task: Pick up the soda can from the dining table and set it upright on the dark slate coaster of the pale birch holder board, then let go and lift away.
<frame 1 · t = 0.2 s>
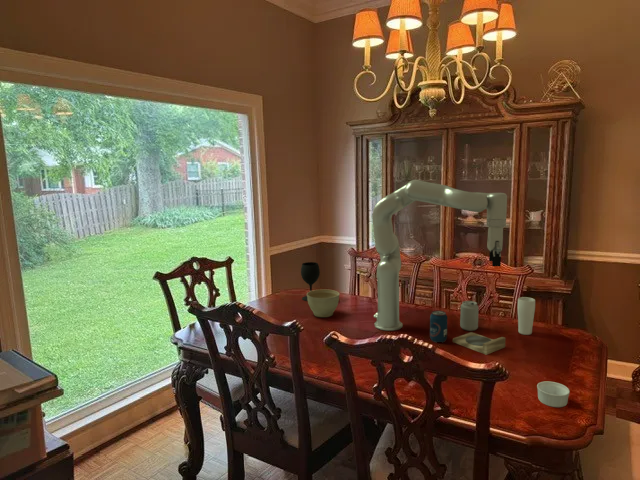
hand: (494, 263, 188), 31 cm above the table, tool pointing down, fingers open, 9 cm apart
ramekin: (552, 401, 138), on the table
wine glass: (311, 299, 252), on the table
can: (468, 328, 200), on the table
drinking glass: (524, 333, 193), on the table
planter bowl: (323, 315, 224), on the table
holder board: (478, 344, 182), on the table
soda can: (438, 340, 188), on the table
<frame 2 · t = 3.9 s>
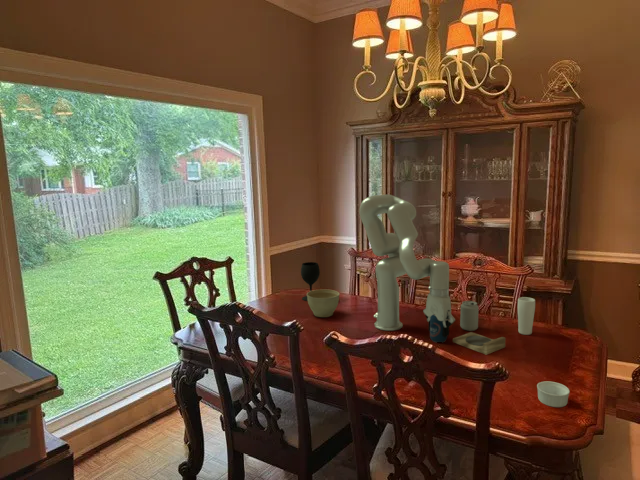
hand: (438, 332, 187), 3 cm above the table, tool pointing down, fingers closed on soda can, 7 cm apart
soda can: (438, 340, 188), on the table, touching gripper
everything else where it was.
when the fingers open (6 cm above the table, at t = 10.2 s): soda can drops 1 cm, resting on holder board.
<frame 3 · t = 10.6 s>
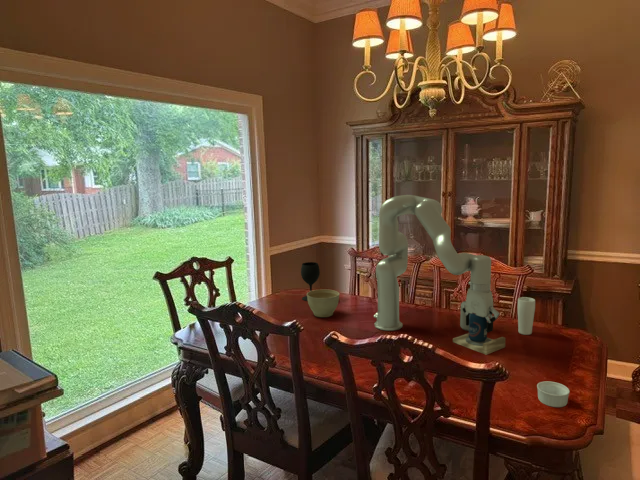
hand: (479, 328, 181), 7 cm above the table, tool pointing down, fingers open, 9 cm apart
soda can: (477, 340, 182), point 2 cm above the table, touching holder board
everything else where it was.
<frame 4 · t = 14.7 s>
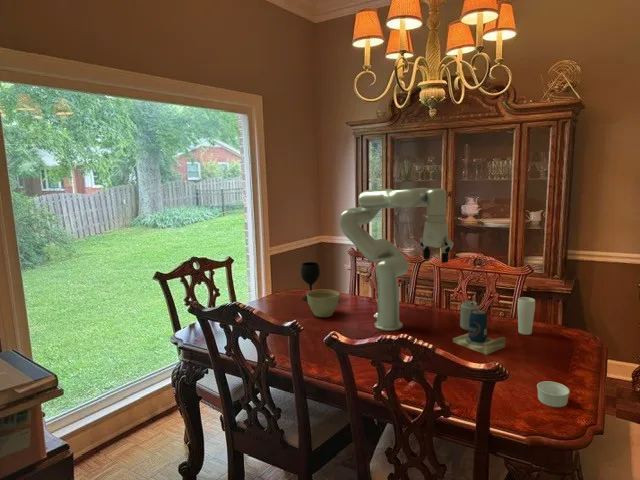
hand: (435, 260, 185), 33 cm above the table, tool pointing down, fingers open, 9 cm apart
nothing on the table moved.
at the end: soda can inside the target area on the holder board (0.5 cm from its centre), point 1.6 cm above the holder board's base; soda can tilted 0°; the gripper is holding nothing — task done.
